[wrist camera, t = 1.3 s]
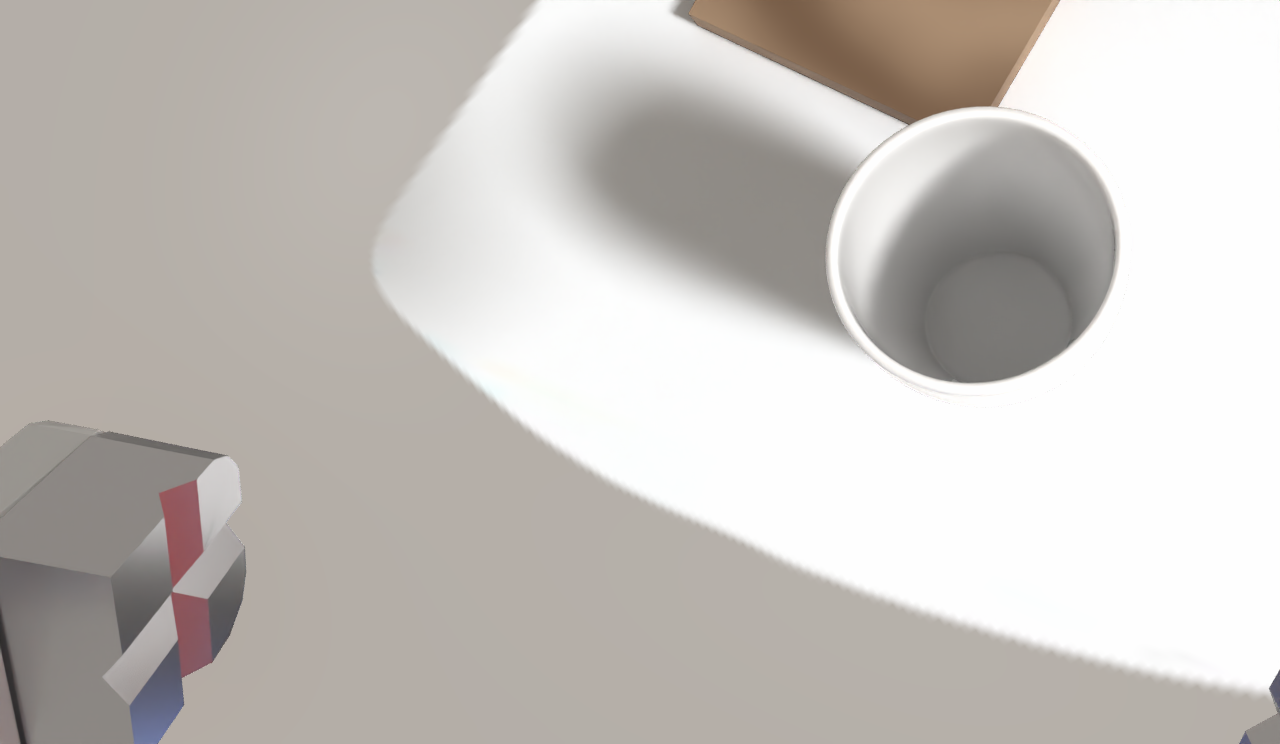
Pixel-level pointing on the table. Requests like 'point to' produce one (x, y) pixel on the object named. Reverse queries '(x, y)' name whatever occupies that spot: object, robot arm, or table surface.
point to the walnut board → (890, 46)
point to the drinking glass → (979, 255)
